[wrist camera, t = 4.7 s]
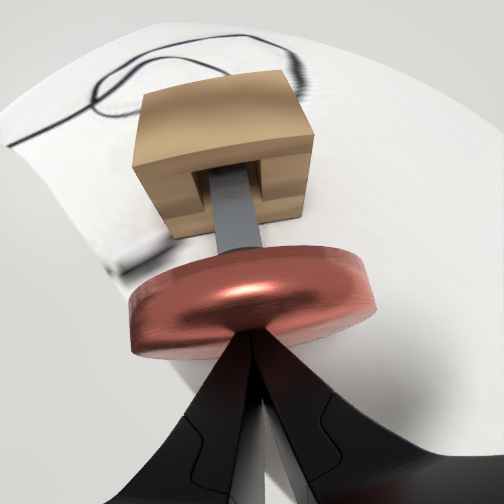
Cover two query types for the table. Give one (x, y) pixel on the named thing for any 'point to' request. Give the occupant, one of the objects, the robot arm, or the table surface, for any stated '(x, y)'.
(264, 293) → the copper disc handle
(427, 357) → the table surface
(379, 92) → the table surface
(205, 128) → the tan block
